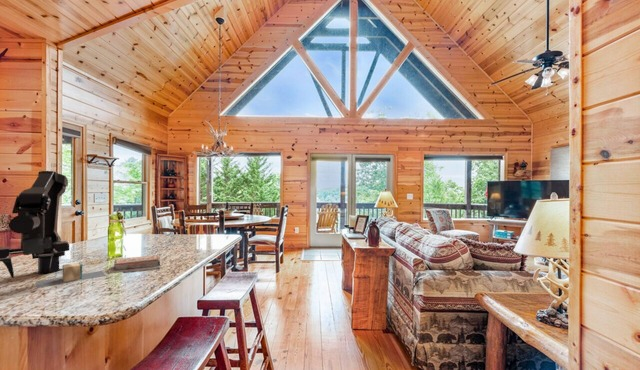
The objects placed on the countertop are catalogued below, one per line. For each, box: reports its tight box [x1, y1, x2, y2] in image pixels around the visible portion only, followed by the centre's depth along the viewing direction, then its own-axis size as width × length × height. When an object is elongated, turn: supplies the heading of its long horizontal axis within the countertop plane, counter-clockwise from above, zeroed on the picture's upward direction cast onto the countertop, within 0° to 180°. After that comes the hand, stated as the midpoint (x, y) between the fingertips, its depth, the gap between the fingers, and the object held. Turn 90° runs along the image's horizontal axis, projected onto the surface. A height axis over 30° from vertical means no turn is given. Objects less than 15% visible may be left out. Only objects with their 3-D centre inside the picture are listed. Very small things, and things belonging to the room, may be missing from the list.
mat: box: [35, 270, 107, 289], centre depth 108 cm, size 19×9×1 cm, turn 136°
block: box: [61, 262, 83, 282], centre depth 108 cm, size 5×5×5 cm
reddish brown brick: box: [108, 255, 161, 274], centre depth 123 cm, size 18×5×10 cm
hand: (32, 274), depth 100 cm, fingers open, 9 cm apart
